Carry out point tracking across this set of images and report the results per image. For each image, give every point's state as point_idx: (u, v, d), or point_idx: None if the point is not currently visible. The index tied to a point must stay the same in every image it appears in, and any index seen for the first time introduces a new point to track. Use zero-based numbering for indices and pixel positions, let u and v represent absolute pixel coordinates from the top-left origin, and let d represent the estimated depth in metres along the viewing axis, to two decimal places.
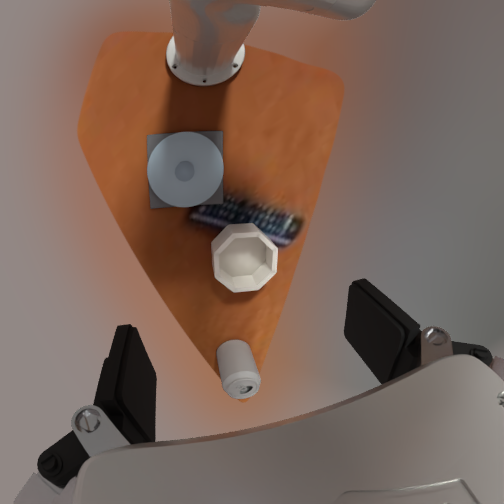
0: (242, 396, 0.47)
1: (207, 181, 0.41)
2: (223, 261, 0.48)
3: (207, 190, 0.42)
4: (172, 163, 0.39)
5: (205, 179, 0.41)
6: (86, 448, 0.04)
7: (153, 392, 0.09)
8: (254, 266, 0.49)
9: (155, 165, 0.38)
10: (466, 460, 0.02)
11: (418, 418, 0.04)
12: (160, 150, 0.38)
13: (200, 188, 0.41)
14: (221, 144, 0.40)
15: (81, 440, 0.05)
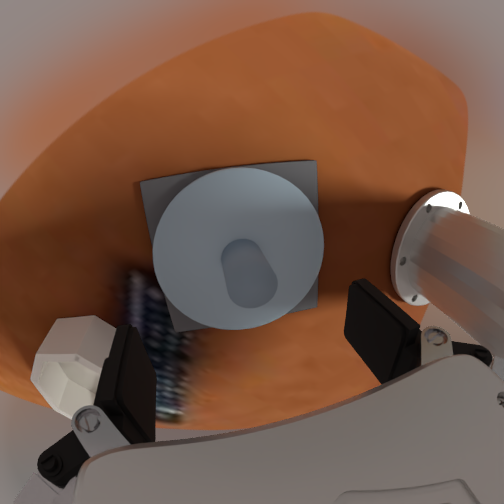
0: None
1: (219, 306, 0.19)
2: None
3: (199, 308, 0.19)
4: (254, 229, 0.18)
5: (223, 301, 0.19)
6: (86, 448, 0.04)
7: (153, 392, 0.09)
8: (83, 382, 0.21)
9: (250, 188, 0.17)
10: (466, 460, 0.02)
11: (417, 417, 0.04)
12: (286, 197, 0.17)
13: (201, 295, 0.19)
14: (292, 310, 0.22)
15: (81, 440, 0.05)
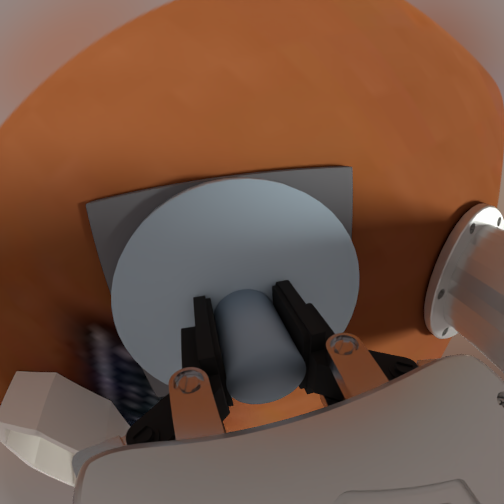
0: None
1: None
2: None
3: None
4: (264, 274, 0.12)
5: None
6: (172, 406, 0.06)
7: None
8: None
9: (258, 212, 0.10)
10: (466, 460, 0.02)
11: (417, 417, 0.04)
12: (312, 225, 0.11)
13: None
14: None
15: (171, 397, 0.06)
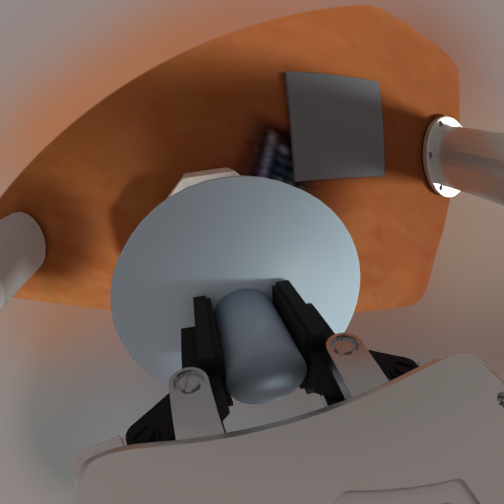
0: None
1: None
2: None
3: None
4: (264, 273, 0.11)
5: None
6: (172, 406, 0.06)
7: None
8: None
9: (258, 210, 0.10)
10: (466, 460, 0.02)
11: (418, 418, 0.04)
12: (313, 224, 0.11)
13: None
14: (370, 174, 0.29)
15: (171, 397, 0.06)
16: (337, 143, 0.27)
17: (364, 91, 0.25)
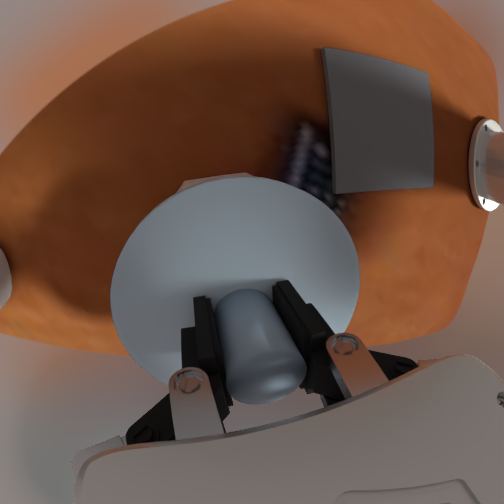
0: None
1: None
2: None
3: None
4: (263, 273, 0.11)
5: None
6: (172, 406, 0.06)
7: None
8: None
9: (258, 211, 0.10)
10: (466, 460, 0.02)
11: (418, 418, 0.04)
12: (313, 224, 0.11)
13: None
14: (420, 186, 0.22)
15: (171, 397, 0.06)
16: (386, 144, 0.19)
17: (413, 82, 0.18)
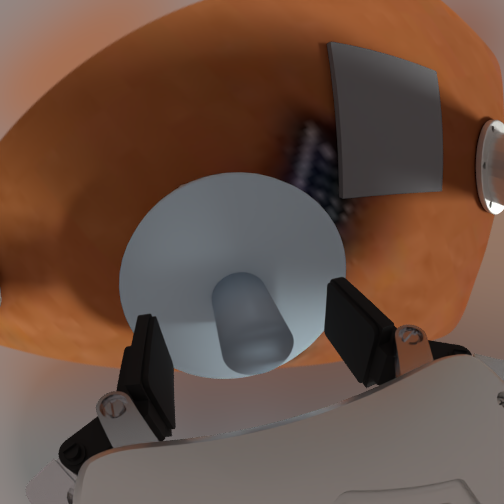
0: None
1: (210, 354, 0.14)
2: None
3: (185, 357, 0.14)
4: (257, 259, 0.13)
5: (215, 348, 0.14)
6: (107, 433, 0.05)
7: (171, 380, 0.10)
8: None
9: (251, 202, 0.12)
10: (466, 460, 0.02)
11: (417, 417, 0.04)
12: (300, 215, 0.13)
13: (187, 342, 0.14)
14: (428, 189, 0.20)
15: (104, 424, 0.05)
16: (395, 146, 0.18)
17: (422, 81, 0.16)
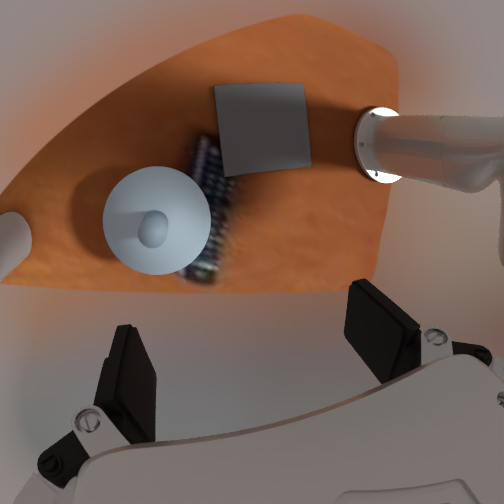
0: None
1: (144, 256, 0.28)
2: None
3: (132, 258, 0.28)
4: (161, 203, 0.27)
5: (146, 253, 0.28)
6: (86, 448, 0.04)
7: (153, 392, 0.09)
8: None
9: (157, 178, 0.26)
10: (466, 460, 0.02)
11: (417, 417, 0.04)
12: (179, 182, 0.27)
13: (132, 248, 0.28)
14: (296, 166, 0.35)
15: (81, 440, 0.05)
16: (262, 141, 0.33)
17: (287, 93, 0.31)
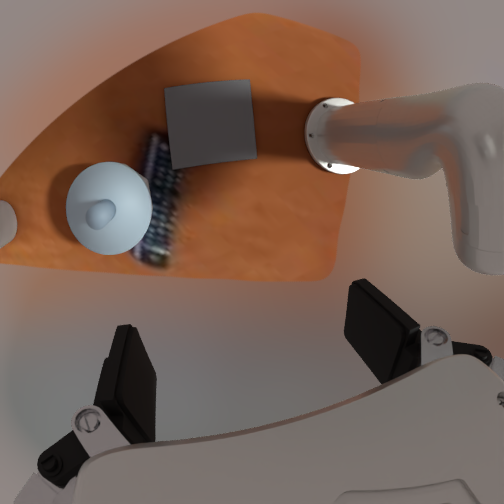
0: None
1: (98, 238, 0.31)
2: None
3: (88, 240, 0.31)
4: (110, 193, 0.29)
5: (99, 235, 0.31)
6: (86, 448, 0.04)
7: (153, 392, 0.09)
8: None
9: (106, 172, 0.28)
10: (466, 460, 0.02)
11: (417, 417, 0.04)
12: (124, 175, 0.29)
13: (89, 231, 0.30)
14: (241, 158, 0.37)
15: (81, 440, 0.05)
16: (207, 136, 0.35)
17: (233, 90, 0.33)
